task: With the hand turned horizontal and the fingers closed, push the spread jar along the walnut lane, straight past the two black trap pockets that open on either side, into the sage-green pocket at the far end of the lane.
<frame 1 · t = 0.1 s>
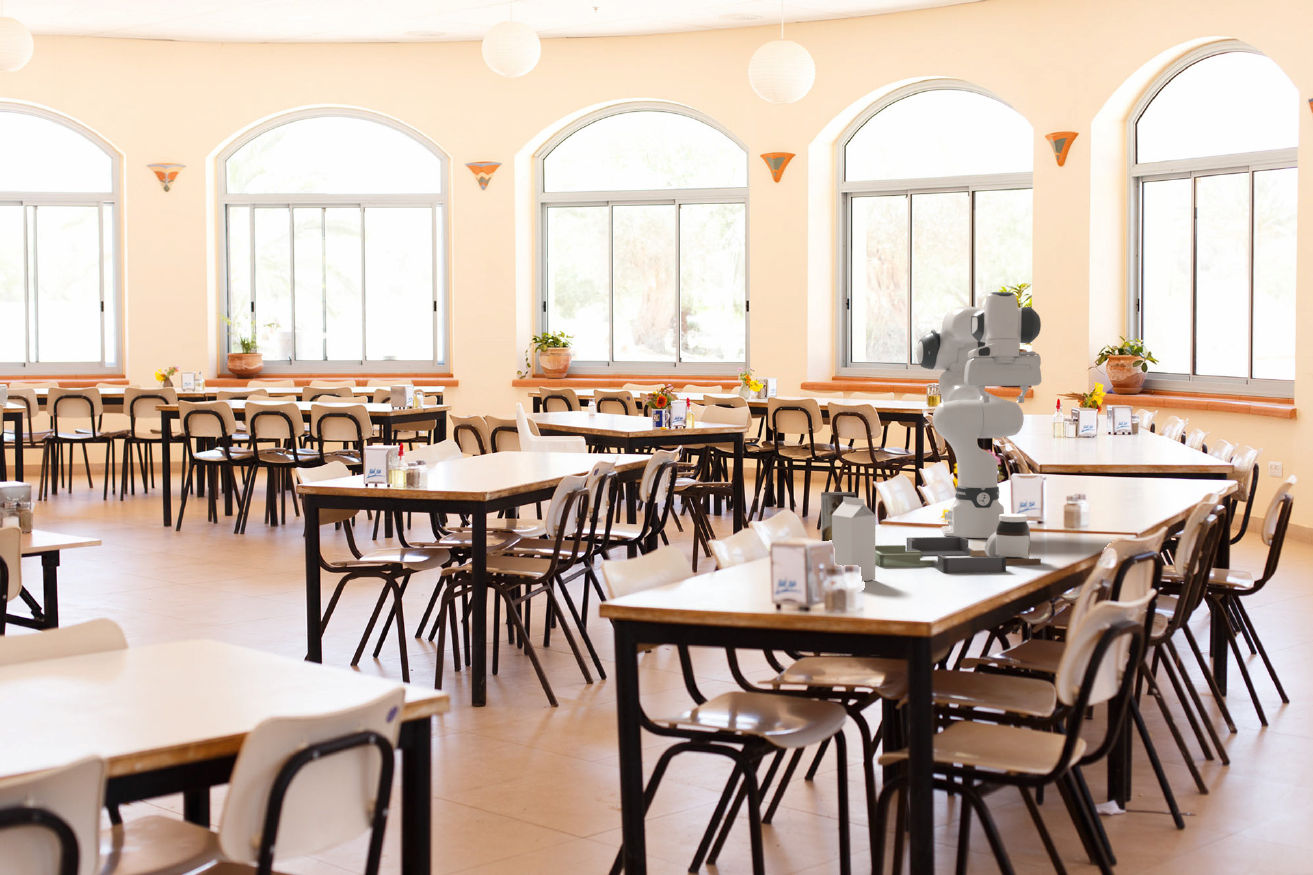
hand: (1003, 402, 353), 39 cm above the table, tool pointing down, fingers open, 8 cm apart
spread jar: (1006, 561, 332), on the table
milk carton: (853, 580, 304), on the table
lane: (951, 560, 331), on the table
front trap: (969, 569, 317), on the table
coffee box: (838, 554, 344), on the table
back trap: (939, 552, 345), on the table
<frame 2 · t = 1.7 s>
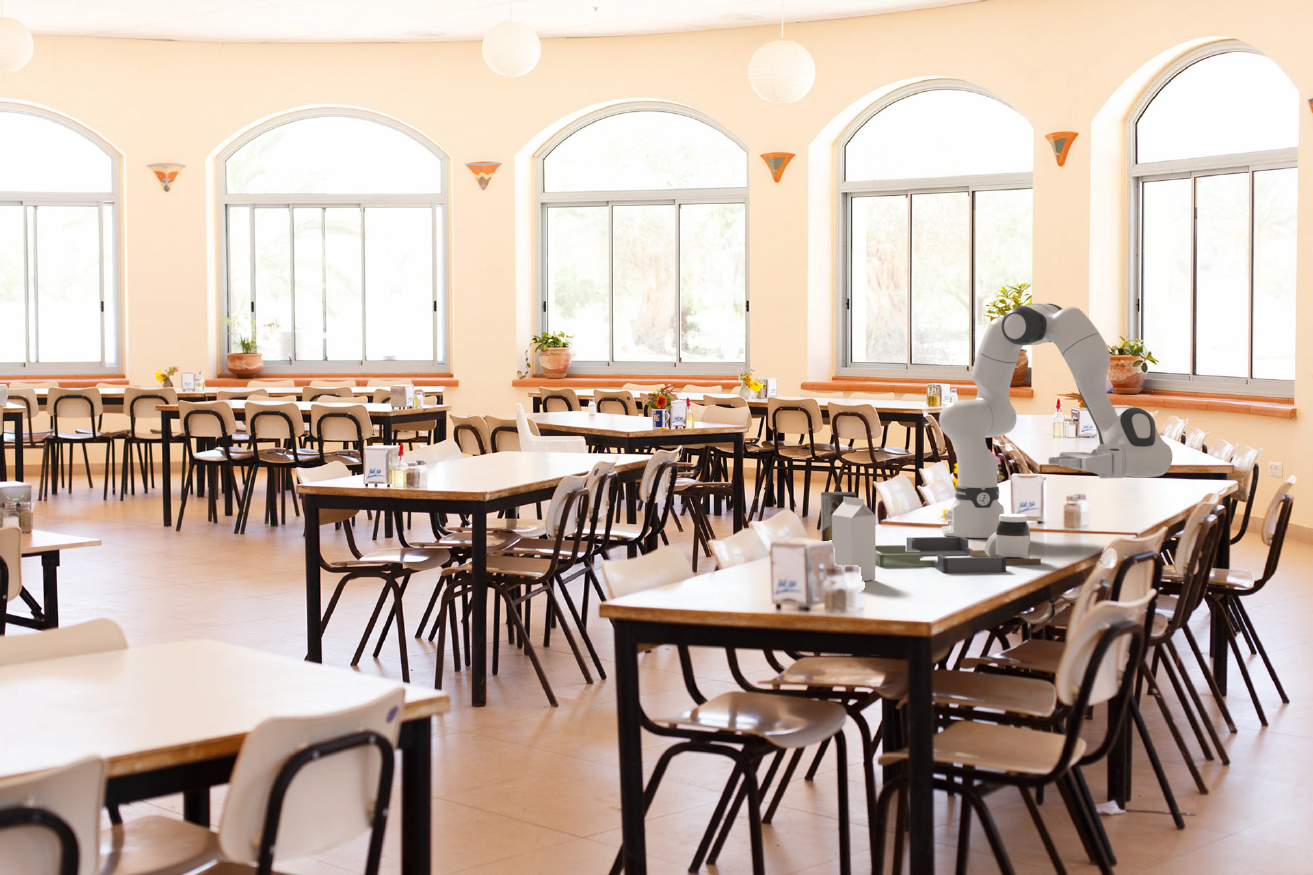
hand: (1054, 462, 337), 24 cm above the table, tool horizontal, fingers open, 6 cm apart
nothing on the table moved.
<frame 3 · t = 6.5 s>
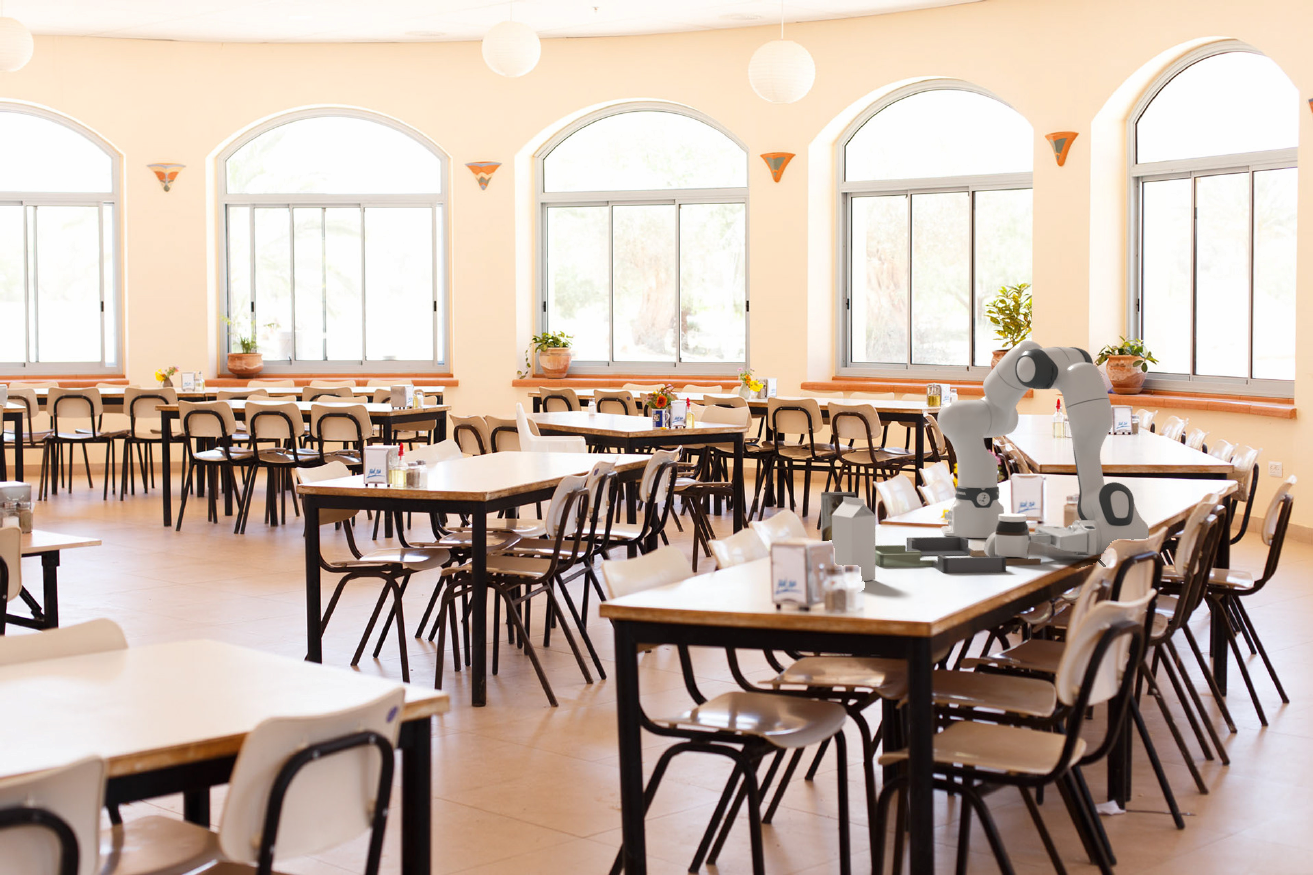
hand: (1028, 538, 332), 5 cm above the table, tool horizontal, fingers closed, pressing on spread jar
spread jar: (1005, 560, 332), on the table, touching gripper
everything else where it was.
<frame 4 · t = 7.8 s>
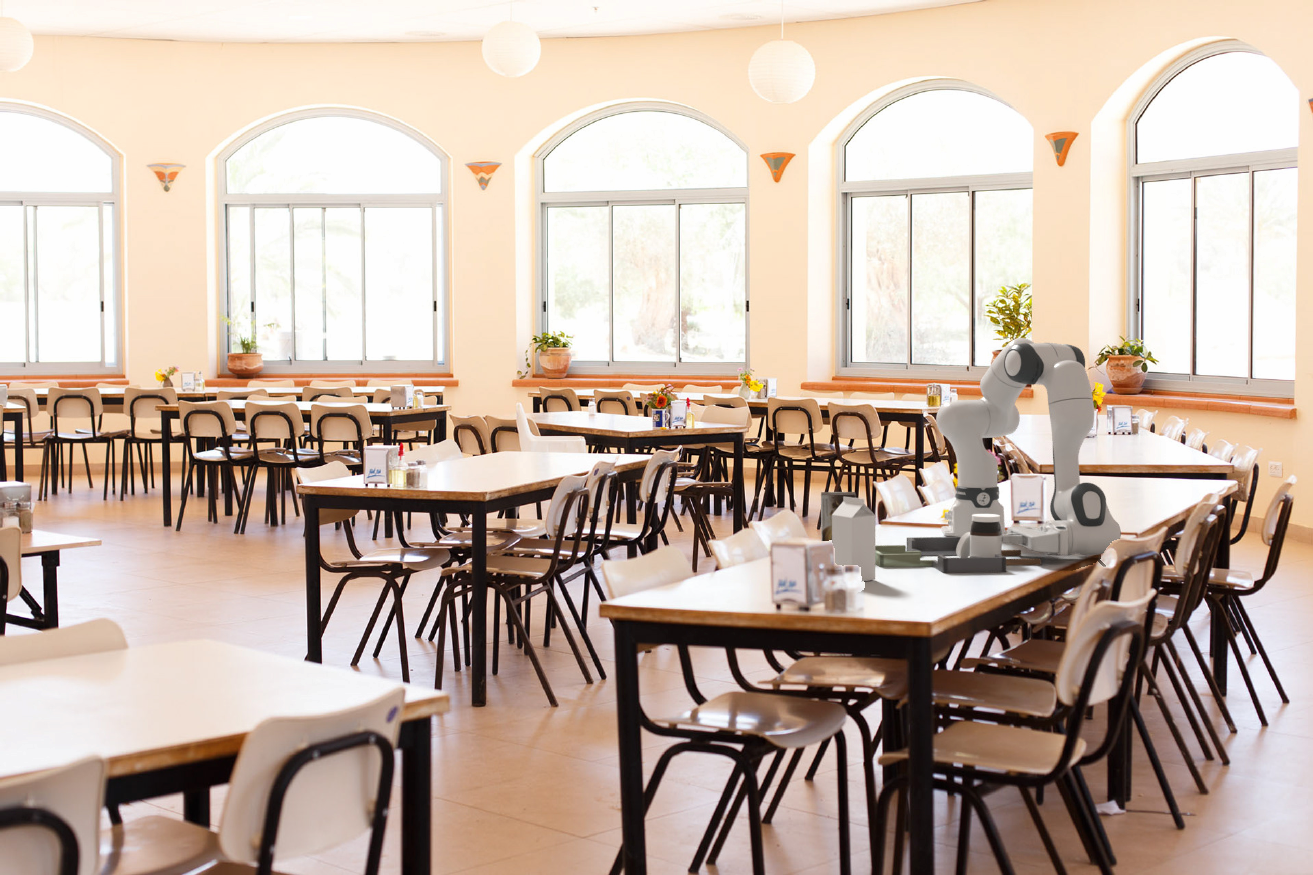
hand: (1000, 538, 332), 5 cm above the table, tool horizontal, fingers closed
spread jar: (978, 561, 331), on the table, touching gripper
everything else where it was.
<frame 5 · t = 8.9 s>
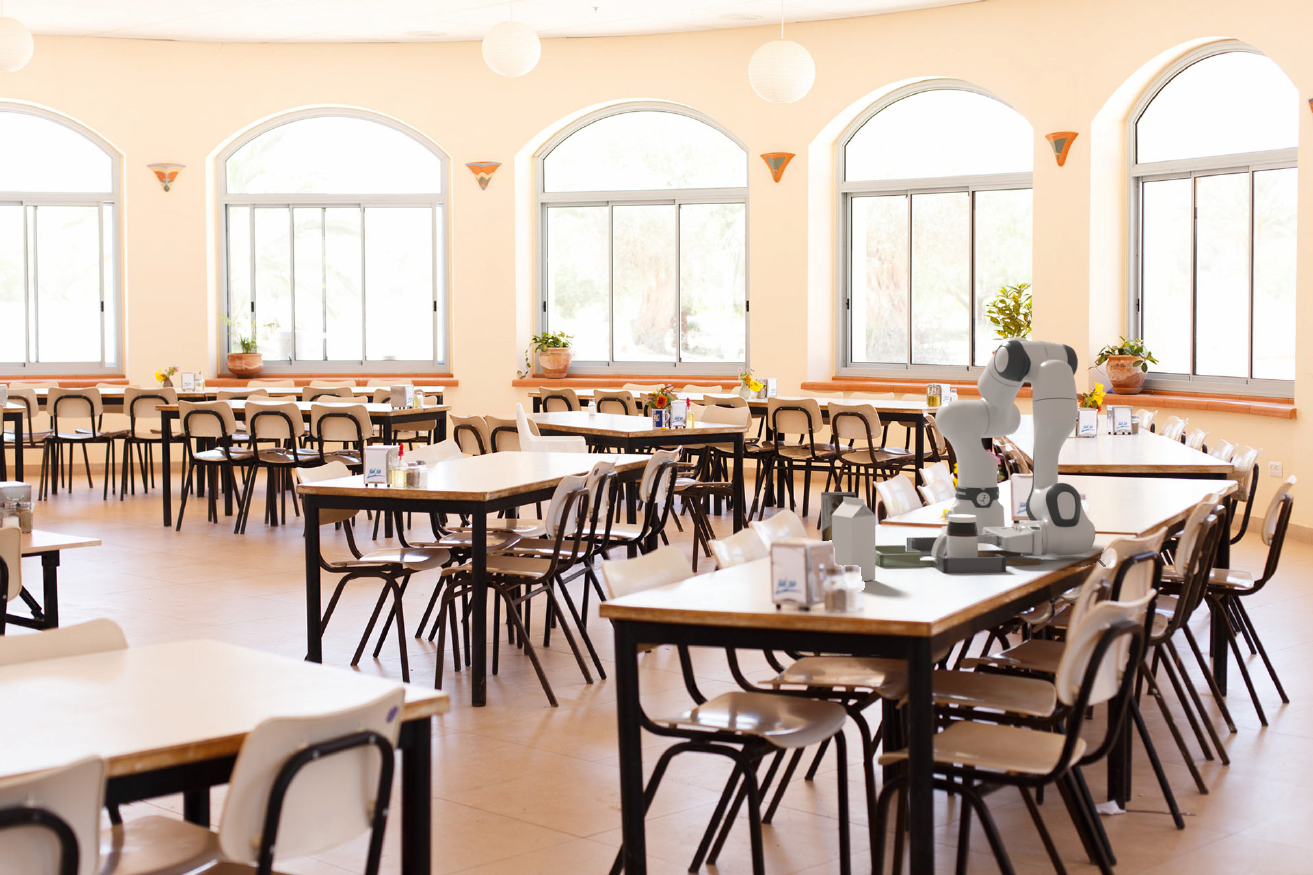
hand: (975, 538, 331), 5 cm above the table, tool horizontal, fingers closed, pressing on spread jar
spread jar: (954, 562, 330), on the table, touching gripper
everything else where it was.
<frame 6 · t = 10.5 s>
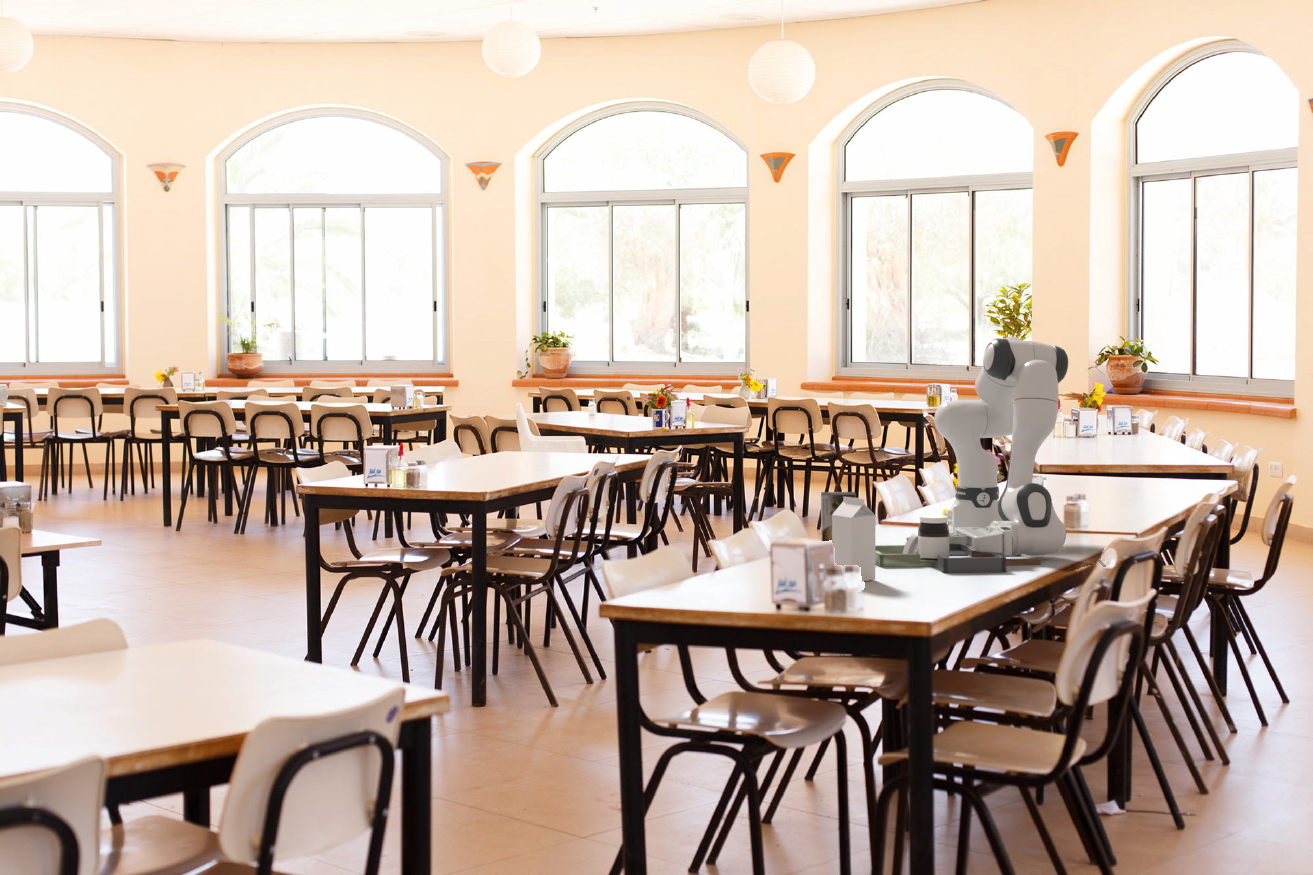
hand: (945, 539, 331), 5 cm above the table, tool horizontal, fingers closed
spread jar: (925, 562, 329), on the table, touching gripper, lane
everything else where it was.
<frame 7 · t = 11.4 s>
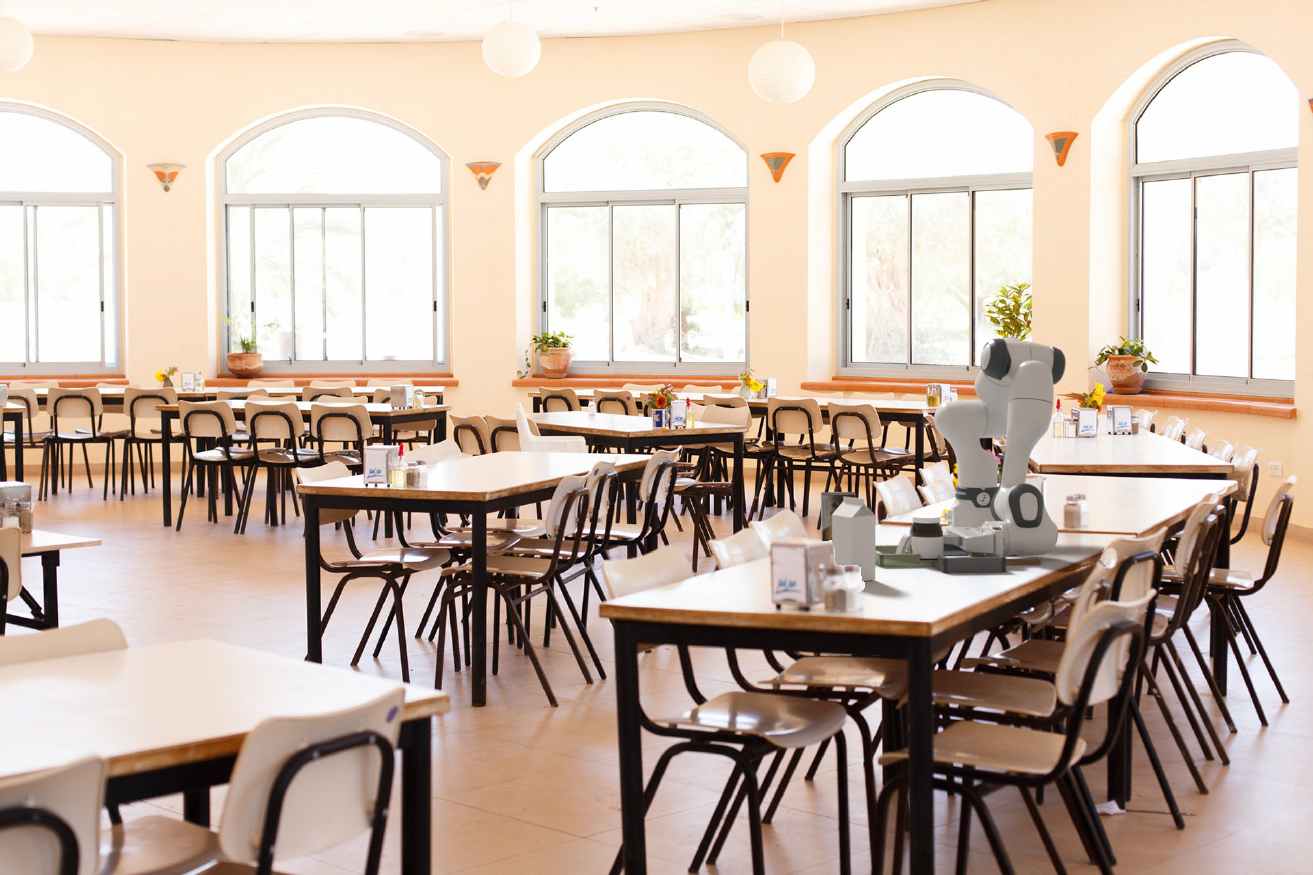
hand: (937, 539, 331), 5 cm above the table, tool horizontal, fingers closed
spread jar: (918, 563, 329), on the table, touching gripper, lane
everything else where it was.
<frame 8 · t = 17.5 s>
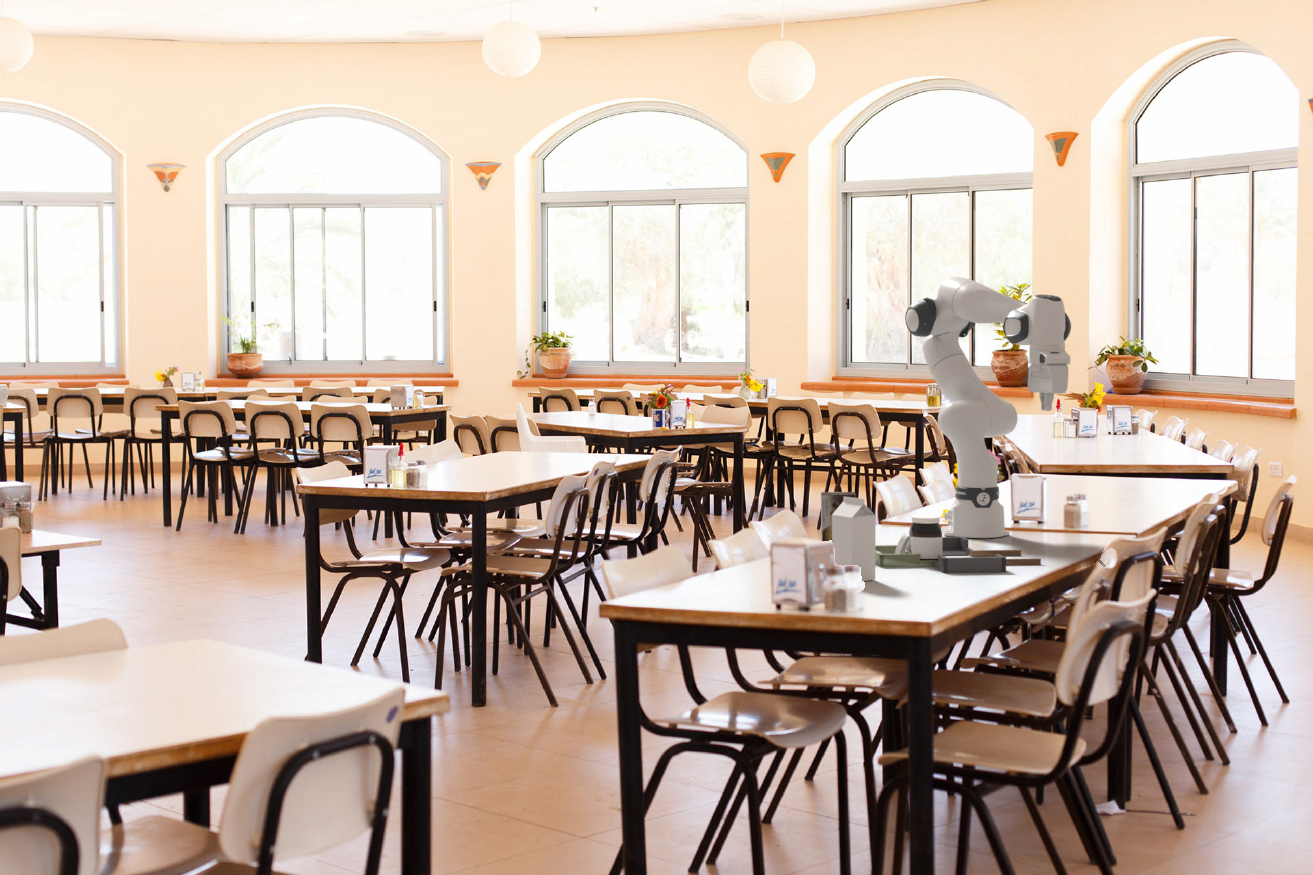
hand: (1046, 410, 342), 37 cm above the table, tool pointing down, fingers closed
spread jar: (917, 563, 329), on the table, touching lane
everything else where it was.
at the end: spread jar inside the target area (3.4 cm from its centre), on the table; spread jar tilted 0°; spread jar moved 23.2 cm from its start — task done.
